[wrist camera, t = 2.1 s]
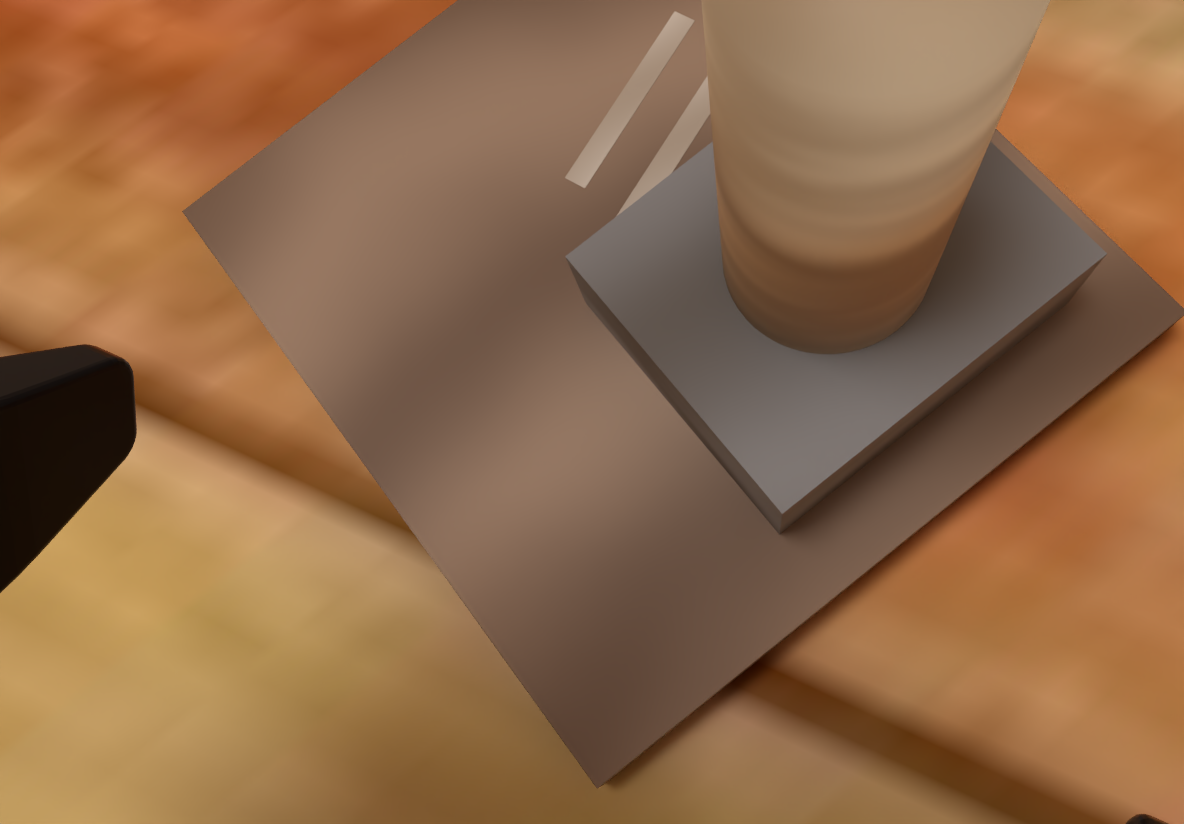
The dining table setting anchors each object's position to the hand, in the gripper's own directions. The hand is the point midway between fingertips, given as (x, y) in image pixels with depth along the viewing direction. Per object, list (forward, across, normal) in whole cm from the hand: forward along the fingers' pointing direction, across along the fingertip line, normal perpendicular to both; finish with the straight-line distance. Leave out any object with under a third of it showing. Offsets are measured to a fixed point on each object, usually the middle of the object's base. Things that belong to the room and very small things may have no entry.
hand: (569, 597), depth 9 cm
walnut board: (+14, +4, +4) cm, 15 cm away
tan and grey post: (+14, 0, +3) cm, 14 cm away
